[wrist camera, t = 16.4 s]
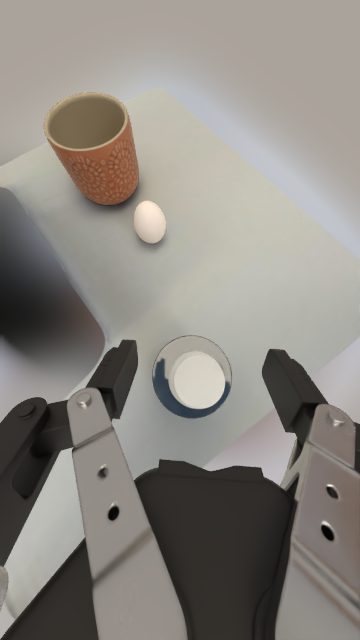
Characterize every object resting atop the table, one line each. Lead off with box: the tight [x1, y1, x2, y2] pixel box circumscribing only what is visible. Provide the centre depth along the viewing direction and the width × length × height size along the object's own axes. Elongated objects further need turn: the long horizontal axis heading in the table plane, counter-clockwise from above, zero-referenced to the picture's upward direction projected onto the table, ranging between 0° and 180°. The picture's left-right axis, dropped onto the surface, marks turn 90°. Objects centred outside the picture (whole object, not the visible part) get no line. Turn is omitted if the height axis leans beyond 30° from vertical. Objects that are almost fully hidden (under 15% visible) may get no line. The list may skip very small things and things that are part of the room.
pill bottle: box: [168, 351, 225, 409], centre depth 16 cm, size 4×4×8 cm
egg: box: [134, 201, 166, 243], centre depth 31 cm, size 5×5×7 cm
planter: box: [44, 92, 139, 205], centre depth 32 cm, size 12×12×11 cm
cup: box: [152, 336, 232, 418], centre depth 24 cm, size 9×9×9 cm
